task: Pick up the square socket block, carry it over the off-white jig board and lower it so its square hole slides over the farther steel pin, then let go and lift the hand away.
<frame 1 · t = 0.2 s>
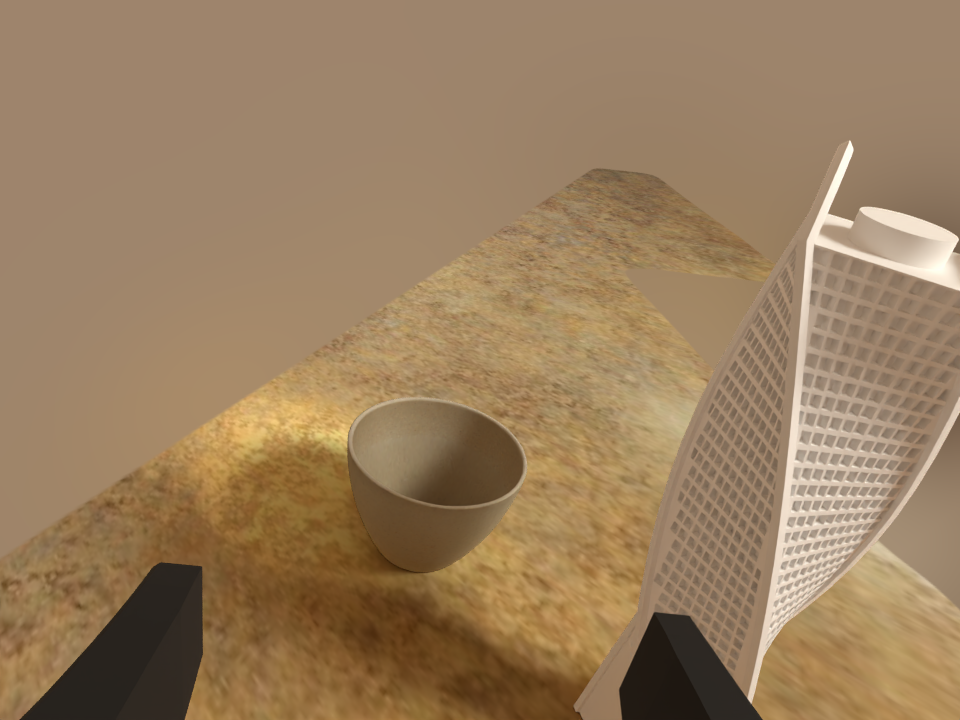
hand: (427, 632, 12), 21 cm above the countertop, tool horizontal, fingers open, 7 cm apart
flower pot: (418, 544, 44), on the countertop
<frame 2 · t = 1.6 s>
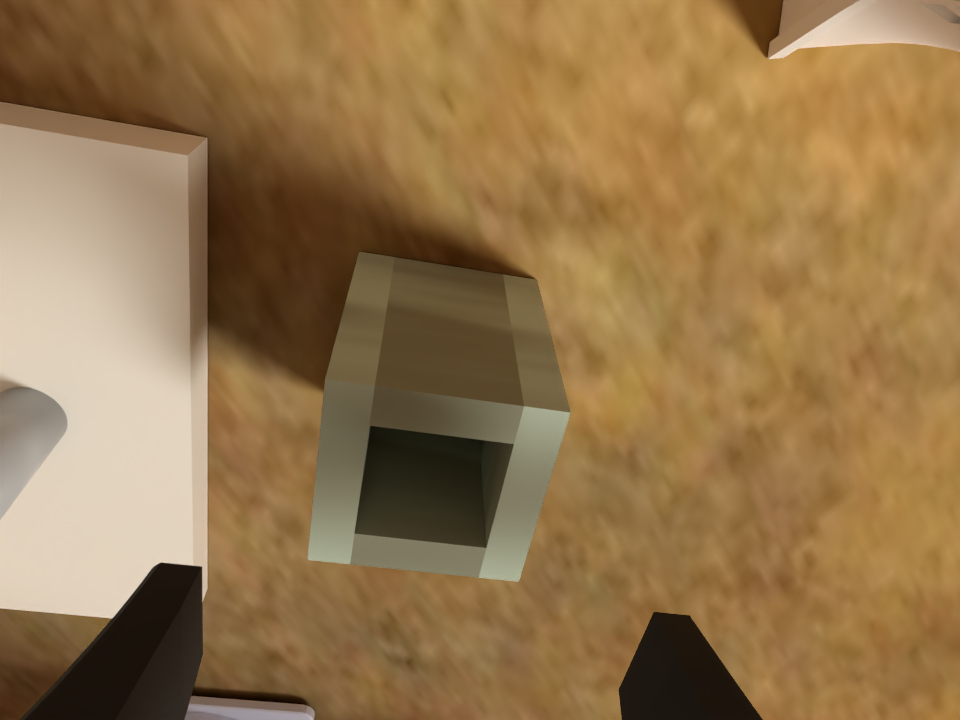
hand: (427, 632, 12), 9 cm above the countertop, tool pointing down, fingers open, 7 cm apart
square socket block: (435, 343, 20), on the countertop
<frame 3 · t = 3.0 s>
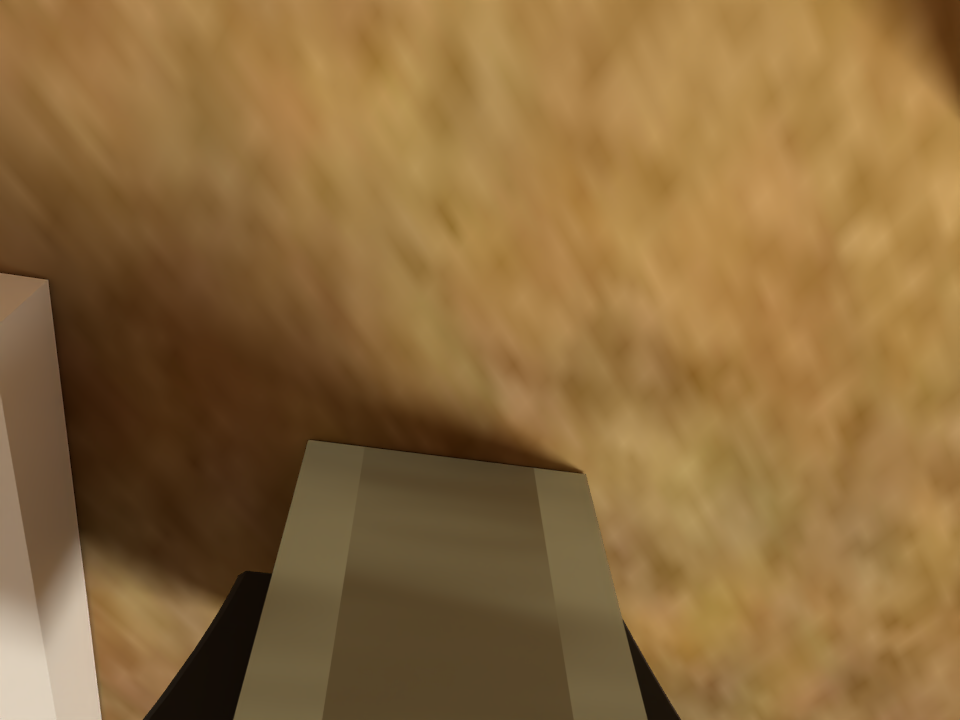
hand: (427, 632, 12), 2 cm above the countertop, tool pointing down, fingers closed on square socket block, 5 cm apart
square socket block: (429, 557, 13), on the countertop, touching gripper
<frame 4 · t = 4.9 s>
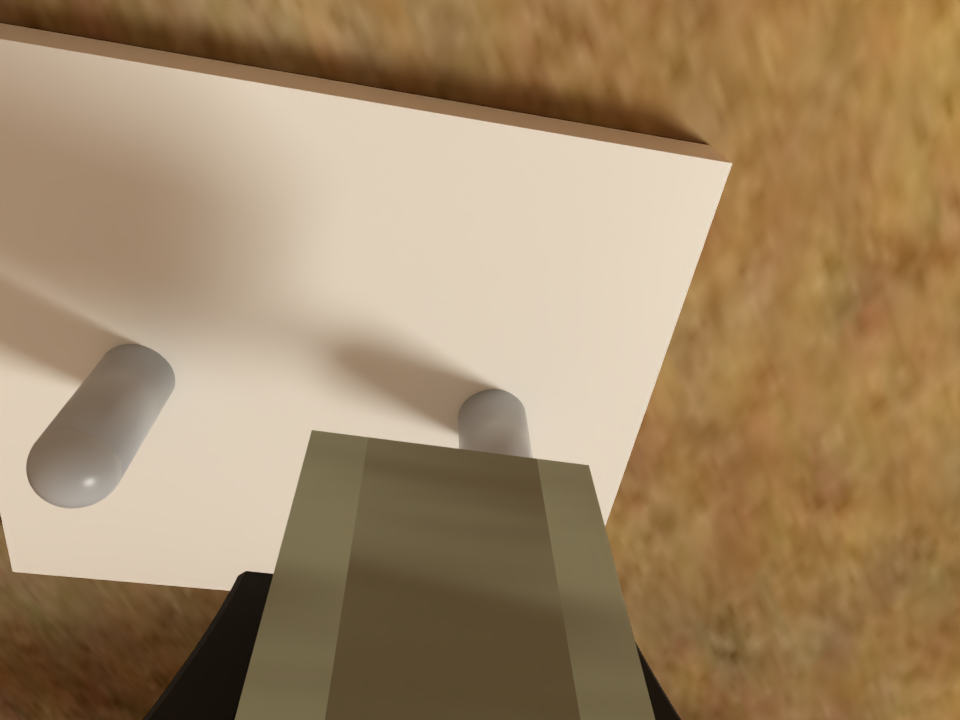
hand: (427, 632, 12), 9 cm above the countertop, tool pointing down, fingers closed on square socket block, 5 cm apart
square socket block: (432, 548, 13), point 8 cm above the countertop, touching gripper
jig board: (328, 366, 20), on the countertop
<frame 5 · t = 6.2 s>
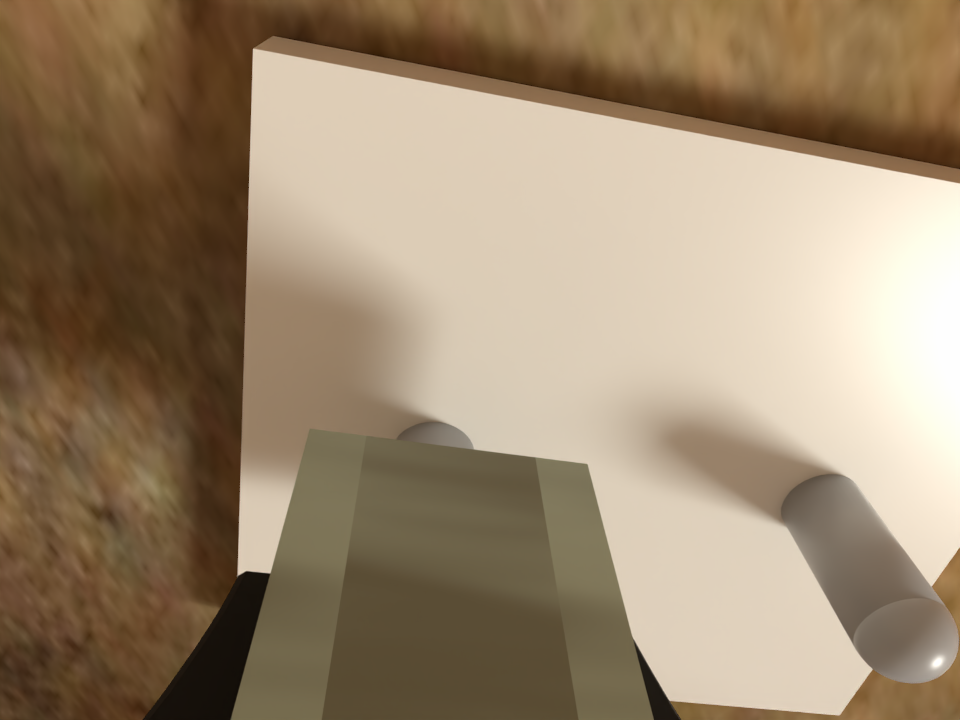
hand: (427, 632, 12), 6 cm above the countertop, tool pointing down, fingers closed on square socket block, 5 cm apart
square socket block: (430, 547, 13), point 4 cm above the countertop, touching gripper
jig board: (619, 440, 17), on the countertop
when the fingers open (5 cm above the countertop, at t = 7.0 s): square socket block drops 1 cm, resting on jig board.
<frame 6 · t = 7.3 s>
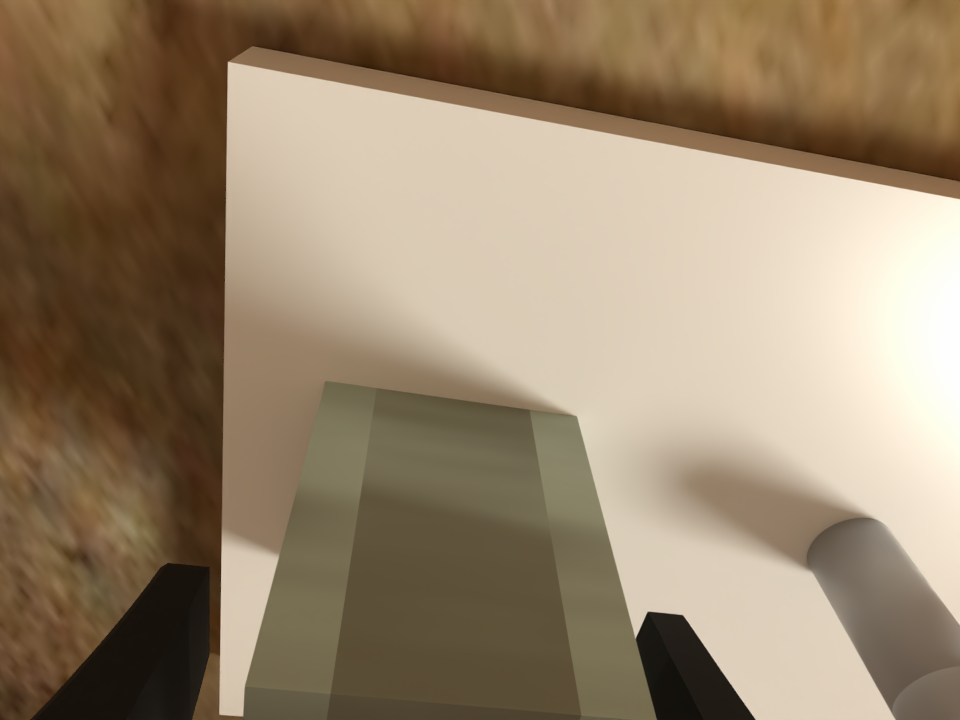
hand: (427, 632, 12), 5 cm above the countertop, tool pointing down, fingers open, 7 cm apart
square socket block: (433, 495, 14), point 1 cm above the countertop, touching jig board
jig board: (632, 478, 16), on the countertop
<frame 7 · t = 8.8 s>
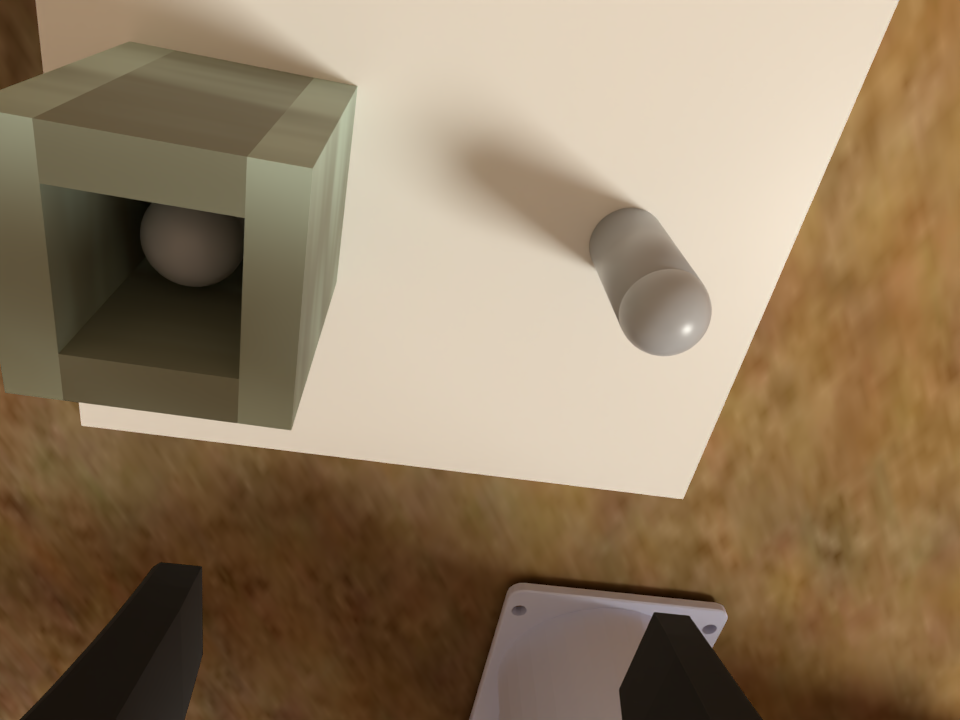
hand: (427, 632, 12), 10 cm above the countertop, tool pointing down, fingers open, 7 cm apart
square socket block: (242, 172, 16), point 1 cm above the countertop, touching jig board
jig board: (440, 192, 18), on the countertop
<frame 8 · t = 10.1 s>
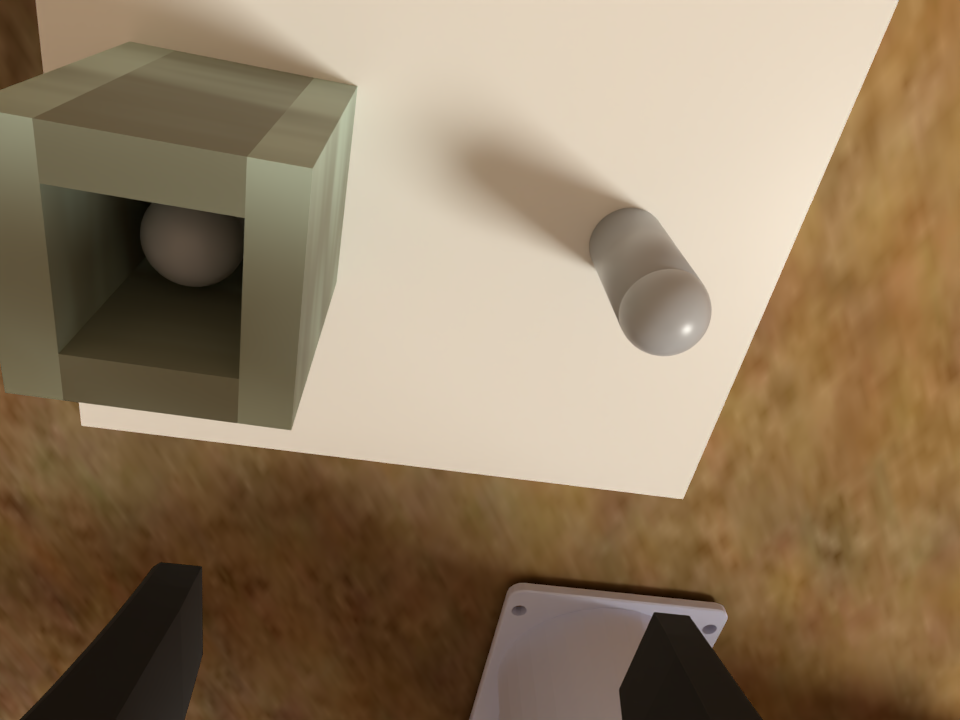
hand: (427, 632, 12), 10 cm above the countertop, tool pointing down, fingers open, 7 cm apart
square socket block: (242, 172, 16), point 1 cm above the countertop, touching jig board
jig board: (440, 192, 18), on the countertop
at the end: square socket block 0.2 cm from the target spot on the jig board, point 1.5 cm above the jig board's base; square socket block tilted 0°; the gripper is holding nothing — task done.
